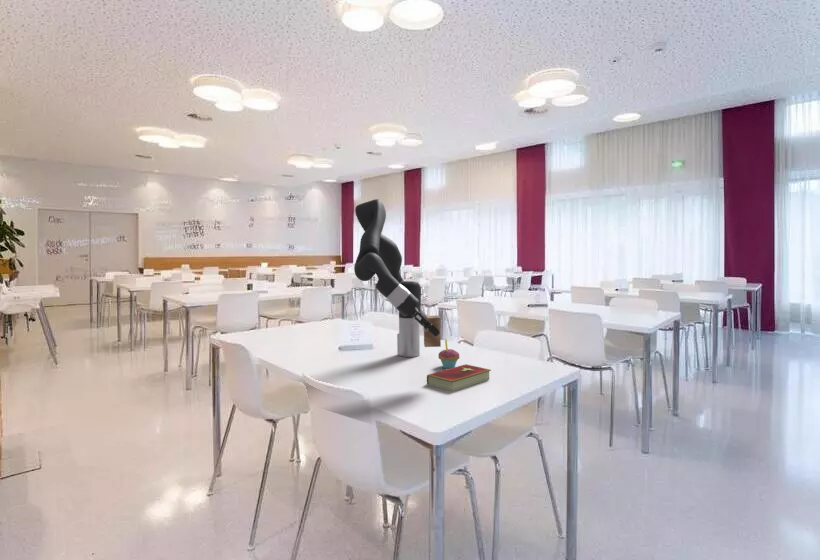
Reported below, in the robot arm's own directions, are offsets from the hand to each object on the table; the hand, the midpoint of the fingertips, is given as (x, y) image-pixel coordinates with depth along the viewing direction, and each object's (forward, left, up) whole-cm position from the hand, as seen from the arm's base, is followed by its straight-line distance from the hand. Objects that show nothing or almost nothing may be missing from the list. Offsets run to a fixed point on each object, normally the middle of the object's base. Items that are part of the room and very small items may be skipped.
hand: (437, 332), depth 159 cm
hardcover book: (+5, +7, -19) cm, 20 cm away
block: (-1, -1, -4) cm, 5 cm away
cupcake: (-10, +22, -18) cm, 30 cm away
